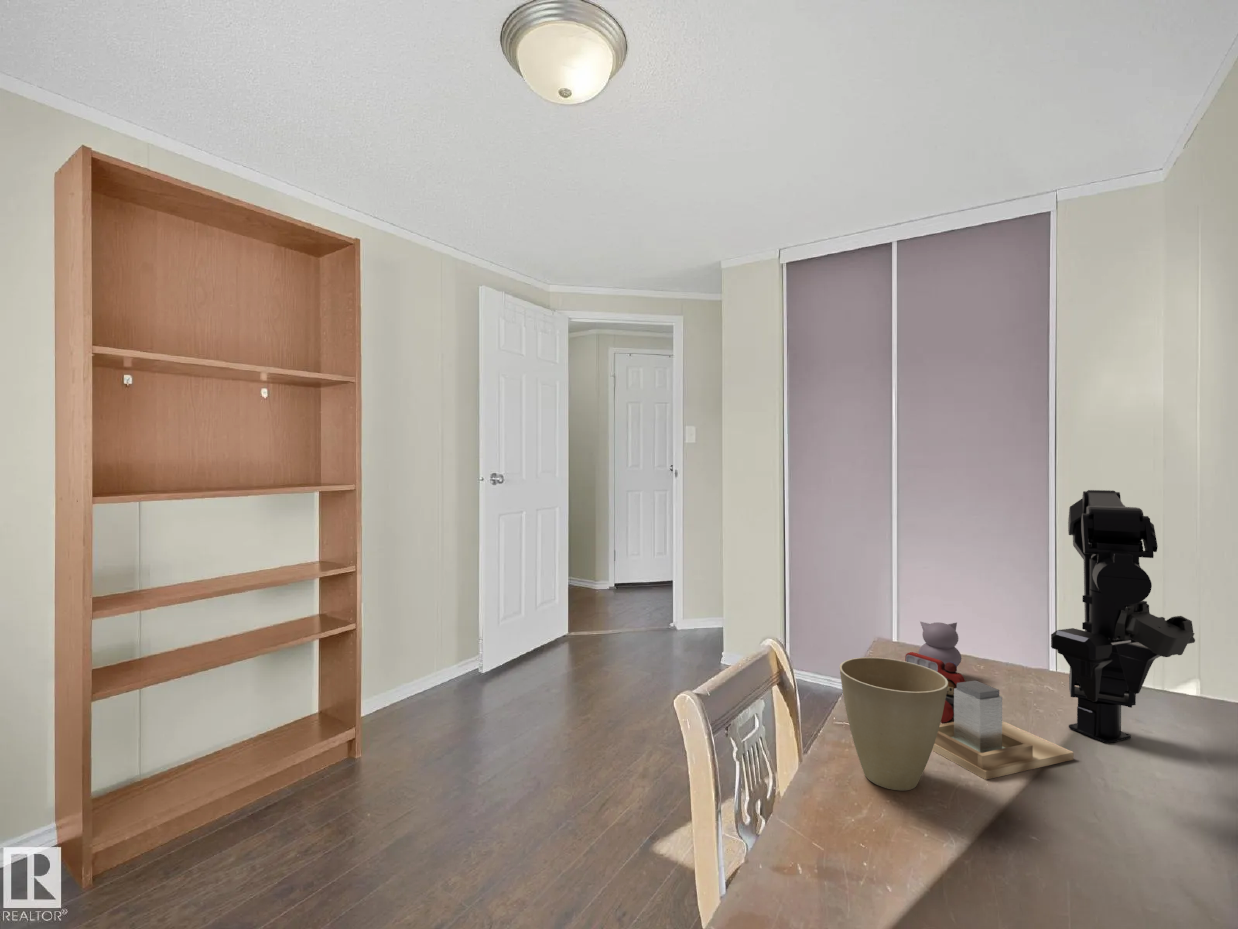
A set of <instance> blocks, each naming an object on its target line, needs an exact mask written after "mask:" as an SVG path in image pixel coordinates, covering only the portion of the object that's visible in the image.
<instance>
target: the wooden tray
mask: <svg viewBox="0 0 1238 929" xmlns="http://www.w3.org/2000/svg"><path fill="white" fill-rule="evenodd" d="M932 751H933V752H935V753H936V754H938V755H939V756H941V757H944V758H946V759H947V760H949V761H951V762H953V763H955V764H956V765H958V766H960V767H962V768H963V769H964V770H968V772H971V773H972V774H974V775H976V776H978V777H980V778H982V779H984V780H986V781H987V780H990V779H994V778H999V777H1003V776H1009V775H1013V774H1016V773H1021V772H1025V771H1030V770H1035V769H1038V768H1042V767H1048V766H1051V765H1055V764H1060V763H1065V762H1070V761H1073V760H1074V759H1075V757H1074V753H1075V752H1074V751H1072V750H1070V749H1067V748H1066V747H1063V746H1061V745H1058V744H1056V743H1054V742H1052V741H1049V740H1046V739H1045V738H1042V737H1040V736H1038V735H1036V734H1033V733H1031V732H1029V731H1027V730H1024V729H1022V728H1019V727H1017V726H1015V725H1013V724H1011V723H1008V722H1006V721H1002V749H998V750H993V751H988V752H984V753H981V752H979V751H977V750H975V749H973V748H971V747H969V746H967V745H965V744H963V743H961V742H959V741H957V740H955V739H954V721H950V722H944V723H940V726H939V730H938V733H937V737H936V740H935V743H934V746H933V749H932Z"/></svg>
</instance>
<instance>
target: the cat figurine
mask: <svg viewBox="0 0 1238 929" xmlns="http://www.w3.org/2000/svg"><path fill="white" fill-rule="evenodd" d="M919 622H920V626H921V628H922V639H923V641H924V642H925V643H923V645H921V646H920V647H919V650H918V654H921V655H924V656H928V657H931V658H935V659H938V660H941V661H942V662H944V664H946V663H947V662H952V663H954V664H955V665H956V666H957V667H959V666H960V664H961V662H962V654H961V652H960V651H959V649H958V648H957V647H956V646H957V644H958V642H959V639H960V638H959V634H958V632H957V624H958V622H952V623H945V622H932V623H928V622H924V621H919ZM946 679H947V678H946Z"/></svg>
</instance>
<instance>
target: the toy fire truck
mask: <svg viewBox="0 0 1238 929" xmlns="http://www.w3.org/2000/svg"><path fill="white" fill-rule="evenodd" d="M904 657H905V660H904V661H906V662H910V663H914V664H918V665H921V666H924V667H927V668H929V669H932V670H934V671H936V672H938V673H940V674H941V675H943V676H944V677H945V678H947V681H948V688H947V694H946V699H945V705H944V710H943V715H942V719H941V723H942V724H945V723H949V721H950V722H951V720H952V719H954V688H957V683H960V682H967V681H966V680H965V677H964V675H963V674H961V673H959V672H958V666H956V665H955V664H954V663H952V662H947V663H946V664H944V662H942V661H941V660H938V659H935V658H931V657H928V656H924V655H921V654H919V652H918V653H917V652H914V651H910V652H907V653H905V656H904Z"/></svg>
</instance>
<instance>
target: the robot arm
mask: <svg viewBox="0 0 1238 929" xmlns="http://www.w3.org/2000/svg"><path fill="white" fill-rule="evenodd" d="M1121 499H1122V498H1121V492H1120V491H1115V490H1110V489H1109V490H1107V489H1106V490H1103V489H1101V490H1100V489H1088V490H1086V491H1083V492H1082V497H1081V499H1079V500H1077V501H1076V502H1075V503H1073V504H1072V505H1071V506H1069V509H1068V518H1067V520H1068V521H1067V524H1068V525H1067V528H1068V530H1067V532H1068V535H1069V536H1072V545H1073V546H1072V547H1074V549H1075V550H1076V552H1077V553H1078V554H1079V555H1080V557H1081V559H1082V560H1083V589H1084V590H1083V593H1084V594H1083V595H1082V603H1084V622H1082V629H1078V628H1073V627H1072V628H1064V629H1057V630H1056V631H1054V632H1053V633H1051V634H1050V647H1051V649H1053V650H1057V653H1058V655H1059V654H1060V655H1062V656H1063V658H1064V659H1065V661H1066V663H1067V664H1068V666H1069V674H1068V675H1069V676H1068V688H1069V694H1070V698H1077V707H1076V722H1075V723H1071V724H1068V728H1069V729H1071V730H1073V731H1075V732H1079V733H1081V734H1082V735H1085V736H1087V737H1090V738H1093V739H1095V740H1098V741H1101V742H1103V743H1104V744H1105V743H1106V744H1110V743H1115V742H1121V741H1123V740H1129V739H1131V738H1132V734H1130V733H1128V732H1124V731H1122V707H1127V708H1133V706H1136V698H1137V697H1136V696H1137V694H1140V692H1141V689H1142V688H1143V685H1144V682H1145V681H1146V678H1147V676H1148V674H1149V671H1150V669H1151V667H1152V665H1153V663H1154V661H1156V659H1158V658H1160V657H1162V658H1170V657H1172V656H1175V655H1176V656H1182V655H1183V654H1184V652H1185V650H1186V648H1187V646H1188V645H1189V644H1194V643H1195V642H1196V639H1195V637H1194V635H1195V633H1194V628H1193V626H1194V625H1193V621H1192V620H1190V619H1188V618H1187V617H1184V616H1183V615H1177V616H1175V615H1174V616H1171V617H1170V618H1167V619H1166V618H1165V617H1164V616H1160V617H1159V616H1156V615H1154V614H1152V613H1150V605H1149V604H1148V601H1147V600H1146V599H1147V598H1148V597H1149V595H1150V593H1151V592H1152V585H1153V583H1152V581H1151V578H1150V576H1149V575H1148V573H1147V572H1146V571H1145V570H1144V569H1143V568H1142V566H1140V558H1143V559H1144V558H1145V559H1146V558H1147V559H1154V556H1155V555H1154V553H1158V552H1157V551H1158V541H1157V536H1156V535H1157V534H1156V531H1155V530H1156V529H1155V525H1154V524H1153V522H1151V518H1150V516H1149V515H1144V512H1143V509H1142V508H1140V507H1133V506H1132V507H1131V506H1126V505H1125V504H1123V502H1122V500H1121Z"/></svg>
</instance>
